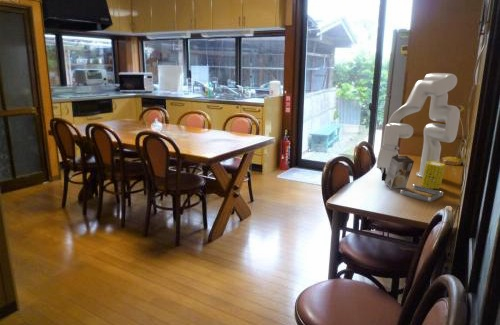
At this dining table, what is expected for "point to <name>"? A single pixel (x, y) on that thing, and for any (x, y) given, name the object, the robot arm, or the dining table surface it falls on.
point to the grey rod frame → (421, 197)
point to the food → (433, 175)
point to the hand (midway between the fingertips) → (384, 180)
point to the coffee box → (399, 171)
